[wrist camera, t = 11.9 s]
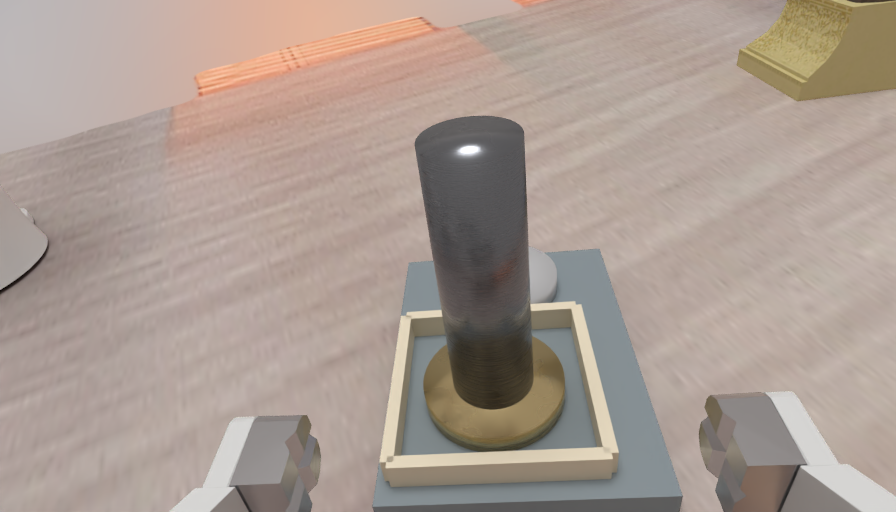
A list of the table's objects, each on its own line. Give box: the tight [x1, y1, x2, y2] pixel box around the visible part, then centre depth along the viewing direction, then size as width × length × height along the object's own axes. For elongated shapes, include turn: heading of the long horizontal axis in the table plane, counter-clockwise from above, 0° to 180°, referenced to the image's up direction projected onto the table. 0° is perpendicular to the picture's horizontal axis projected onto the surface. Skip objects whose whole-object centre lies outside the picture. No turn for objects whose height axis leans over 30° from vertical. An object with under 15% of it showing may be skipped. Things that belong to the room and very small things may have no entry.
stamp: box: [415, 116, 565, 452], centre depth 24 cm, size 7×7×14 cm
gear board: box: [373, 246, 683, 512], centre depth 31 cm, size 13×18×4 cm
